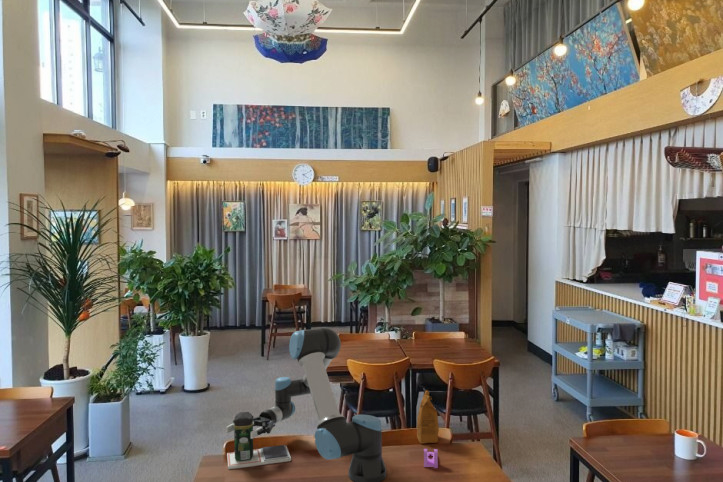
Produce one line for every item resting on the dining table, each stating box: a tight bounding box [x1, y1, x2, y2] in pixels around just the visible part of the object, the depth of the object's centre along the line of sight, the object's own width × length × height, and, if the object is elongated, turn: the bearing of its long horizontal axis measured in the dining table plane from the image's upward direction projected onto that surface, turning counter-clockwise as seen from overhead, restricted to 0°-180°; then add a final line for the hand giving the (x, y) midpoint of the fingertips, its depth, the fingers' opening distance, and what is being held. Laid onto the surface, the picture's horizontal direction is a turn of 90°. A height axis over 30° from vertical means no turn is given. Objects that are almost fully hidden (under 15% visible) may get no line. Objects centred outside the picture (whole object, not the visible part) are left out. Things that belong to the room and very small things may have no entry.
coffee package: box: [416, 390, 440, 445], centre depth 237 cm, size 10×12×22 cm
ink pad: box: [260, 444, 291, 461], centre depth 220 cm, size 13×11×1 cm
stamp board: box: [226, 445, 292, 470], centre depth 218 cm, size 14×26×1 cm, turn 107°
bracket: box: [423, 448, 439, 469], centre depth 214 cm, size 13×6×7 cm, turn 173°
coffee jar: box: [233, 411, 254, 461], centre depth 217 cm, size 10×8×19 cm
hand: (238, 432), depth 214 cm, fingers open, 13 cm apart
